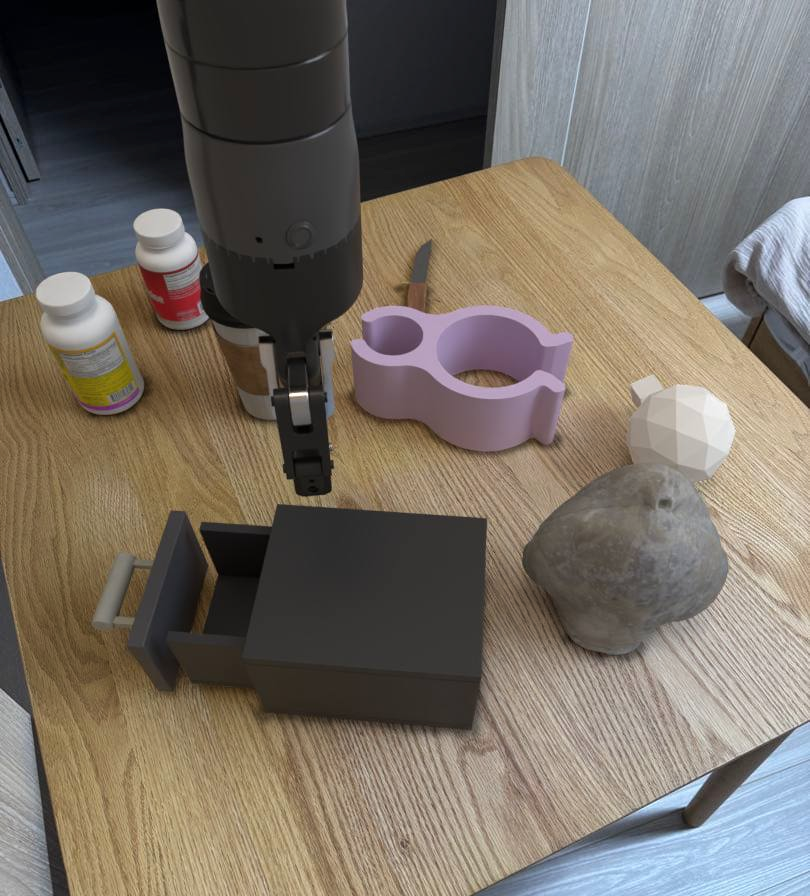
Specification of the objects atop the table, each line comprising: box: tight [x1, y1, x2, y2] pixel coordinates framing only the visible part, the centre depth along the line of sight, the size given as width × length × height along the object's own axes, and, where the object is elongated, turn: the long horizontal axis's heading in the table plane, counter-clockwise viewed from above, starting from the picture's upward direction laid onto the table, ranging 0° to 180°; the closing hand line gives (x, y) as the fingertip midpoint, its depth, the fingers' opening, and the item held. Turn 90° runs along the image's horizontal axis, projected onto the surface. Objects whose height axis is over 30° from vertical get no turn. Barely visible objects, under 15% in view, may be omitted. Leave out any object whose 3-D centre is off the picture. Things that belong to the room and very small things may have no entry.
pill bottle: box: [133, 208, 210, 331], centre depth 78 cm, size 6×6×11 cm
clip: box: [350, 304, 575, 452], centre depth 72 cm, size 20×12×7 cm, turn 77°
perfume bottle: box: [625, 373, 737, 484], centre depth 67 cm, size 9×9×12 cm
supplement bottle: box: [35, 271, 145, 416], centre depth 70 cm, size 7×7×13 cm
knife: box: [400, 238, 433, 313], centre depth 84 cm, size 17×1×3 cm
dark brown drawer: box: [91, 509, 272, 693], centre depth 56 cm, size 19×11×8 cm, turn 85°
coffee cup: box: [199, 262, 285, 421], centre depth 69 cm, size 8×8×15 cm
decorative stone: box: [521, 463, 730, 656], centre depth 56 cm, size 15×10×15 cm
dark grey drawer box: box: [242, 503, 488, 731], centre depth 56 cm, size 16×13×10 cm
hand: (310, 438), depth 48 cm, fingers open, 8 cm apart
